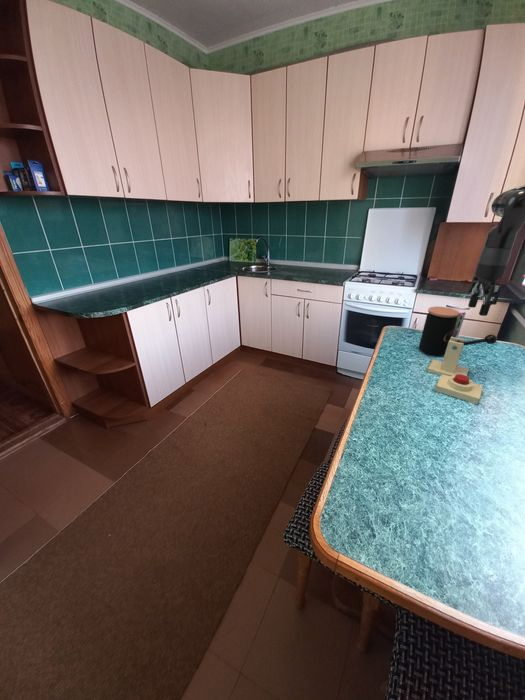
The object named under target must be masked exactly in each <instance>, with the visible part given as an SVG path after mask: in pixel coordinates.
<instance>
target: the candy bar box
mask: <svg viewBox="0 0 525 700" xmlns="http://www.w3.org/2000/svg"><path fill="white" fill-rule="evenodd" d="M436 307H440V306H438V305H437V306H436ZM456 310H457V311H458V312H459V315H458V316H457V322H456V326H455V329H454V332H453V335H452V337H455V338H459V335H460V331H461V329H462V326H463V323H464V320H465V317H466V314H467V313H466V311H463V310H459V309H456Z"/></svg>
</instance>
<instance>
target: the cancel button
mask: <svg viewBox="0 0 525 700" xmlns="http://www.w3.org/2000/svg"><path fill="white" fill-rule="evenodd" d="M469 380H471V379H470V377H469V376H468V375H467V376H465V375H461V374H457V375H455V378H454V382H456V383H458V384H461V385H468V383H469Z"/></svg>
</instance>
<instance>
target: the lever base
mask: <svg viewBox="0 0 525 700" xmlns="http://www.w3.org/2000/svg"><path fill="white" fill-rule="evenodd" d="M458 340H460V342H466V339H464V338H459V337H458V338H455V337H451V339H450V340H449V342H448V346H447V349H446V352H445V355H443V359H442V361H441V360H438V359H432V360H431V362H430V363H429V365H428V367H427V369H426V372H428V373H431V374H434V375H438V376H441V375H442V374H443V375H447V376H453V375H457V374H461V375H465V376H467V377H468V374H469V370H470V368H468V367H465V366H461V365H458V364H459V361H460V359H461V354H462V351H463V349H464V346H465V345H464V344H463V343H459V342H454V341H458ZM463 345H464V346H463Z"/></svg>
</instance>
